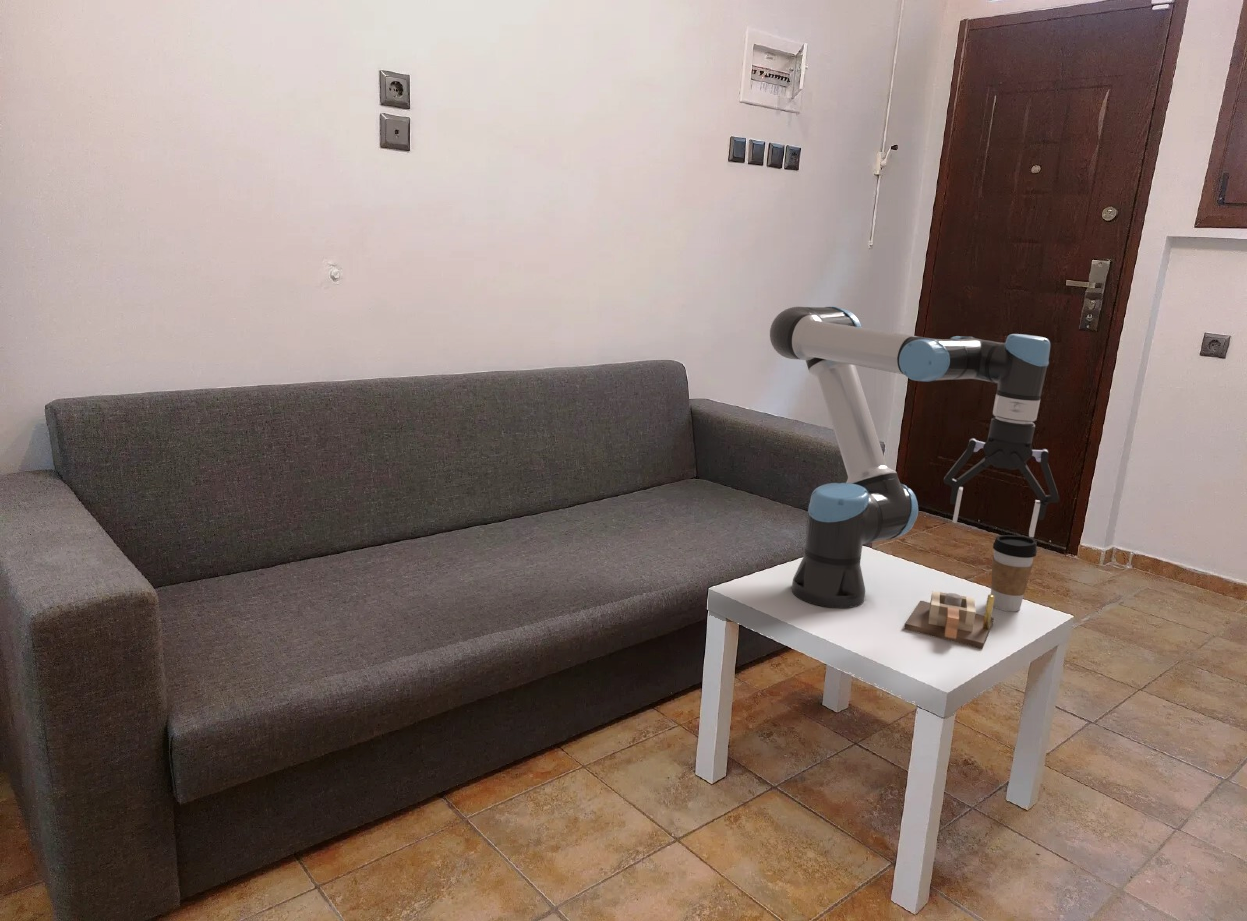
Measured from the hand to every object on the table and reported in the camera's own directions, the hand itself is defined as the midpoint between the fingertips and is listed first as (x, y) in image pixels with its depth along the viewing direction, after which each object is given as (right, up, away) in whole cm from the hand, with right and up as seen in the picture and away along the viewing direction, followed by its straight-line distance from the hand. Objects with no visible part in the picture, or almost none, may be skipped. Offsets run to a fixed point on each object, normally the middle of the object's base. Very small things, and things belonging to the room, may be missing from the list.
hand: (992, 528), depth 165 cm
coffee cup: (+10, -18, +18) cm, 28 cm away
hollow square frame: (-7, -19, +3) cm, 21 cm away
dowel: (0, -20, +3) cm, 20 cm away
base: (-6, -20, +6) cm, 22 cm away
